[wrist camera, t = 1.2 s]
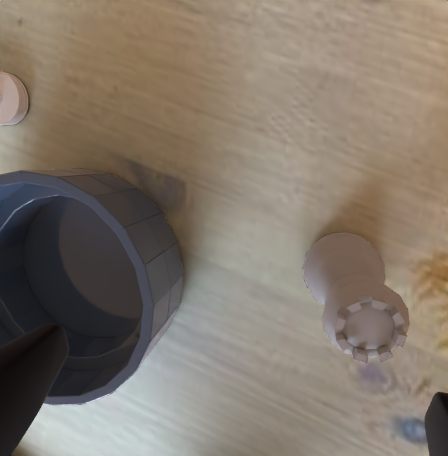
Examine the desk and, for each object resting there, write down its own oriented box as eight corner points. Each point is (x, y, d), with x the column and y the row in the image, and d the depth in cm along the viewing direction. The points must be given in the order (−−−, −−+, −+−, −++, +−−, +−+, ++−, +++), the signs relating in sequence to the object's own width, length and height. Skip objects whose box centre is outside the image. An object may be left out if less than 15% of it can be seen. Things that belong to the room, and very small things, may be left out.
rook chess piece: (322, 217, 20) (341, 253, 12) (395, 249, 20) (462, 308, 12) (289, 282, 21) (288, 353, 13) (358, 314, 21) (397, 406, 13)
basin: (226, 272, 22) (205, 308, 16) (105, 385, 25) (55, 445, 20) (81, 125, 22) (13, 114, 16) (-20, 260, 25) (-102, 286, 20)
